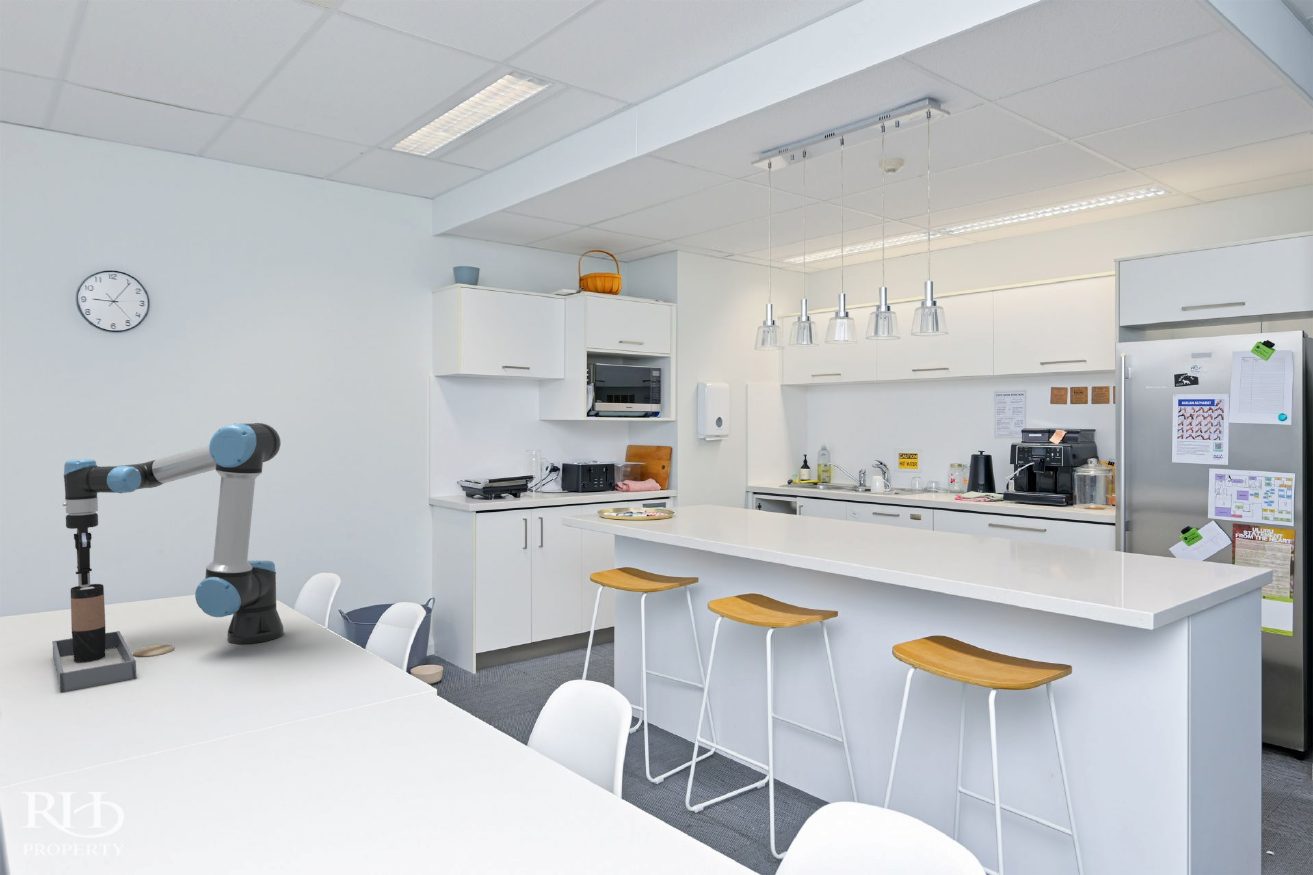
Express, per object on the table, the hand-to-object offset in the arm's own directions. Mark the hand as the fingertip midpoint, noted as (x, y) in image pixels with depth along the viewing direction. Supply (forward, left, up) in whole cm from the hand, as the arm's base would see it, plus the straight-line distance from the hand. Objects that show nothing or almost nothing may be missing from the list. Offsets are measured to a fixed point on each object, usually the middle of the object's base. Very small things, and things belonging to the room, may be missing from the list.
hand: (84, 595), depth 231 cm
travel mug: (-7, +9, -16) cm, 19 cm away
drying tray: (-14, +16, -16) cm, 26 cm away
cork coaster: (-21, +3, -16) cm, 26 cm away
